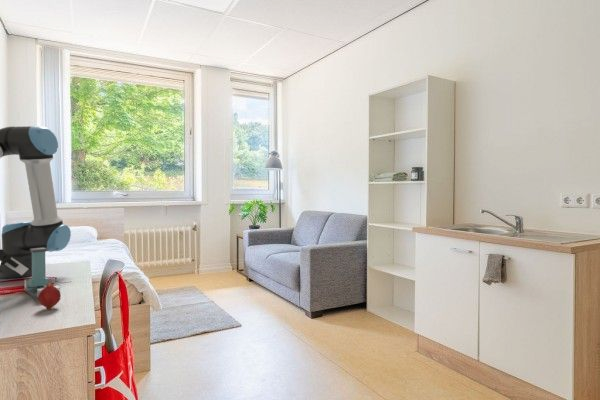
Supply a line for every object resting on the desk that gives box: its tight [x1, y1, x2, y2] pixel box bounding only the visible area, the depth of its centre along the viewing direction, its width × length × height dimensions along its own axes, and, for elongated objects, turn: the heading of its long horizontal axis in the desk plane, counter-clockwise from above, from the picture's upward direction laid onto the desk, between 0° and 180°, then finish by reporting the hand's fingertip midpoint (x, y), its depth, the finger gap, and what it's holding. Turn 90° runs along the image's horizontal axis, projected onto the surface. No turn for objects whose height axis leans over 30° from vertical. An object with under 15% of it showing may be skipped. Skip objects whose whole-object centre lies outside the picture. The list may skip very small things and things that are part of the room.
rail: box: [23, 278, 61, 303], centre depth 132 cm, size 22×6×4 cm, turn 47°
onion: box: [37, 282, 62, 310], centre depth 116 cm, size 6×6×8 cm
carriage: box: [29, 248, 50, 287], centre depth 134 cm, size 4×5×13 cm
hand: (20, 269), depth 130 cm, fingers open, 13 cm apart
